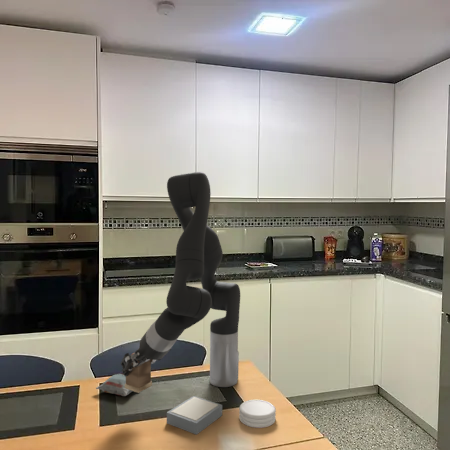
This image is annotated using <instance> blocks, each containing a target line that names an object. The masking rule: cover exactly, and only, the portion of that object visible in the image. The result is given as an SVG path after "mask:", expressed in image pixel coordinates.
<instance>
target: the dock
mask: <svg viewBox="0 0 450 450" xmlns="http://www.w3.org/2000/svg"><path fill="white" fill-rule="evenodd" d="M222 416H223V404H220V403H217V402H214V401H211V400H209V399H205V398H203V397H200V396H196V395H193V396H191V397H189V398H188V399H185V400H184V401H183V402H181V403H180V404H178V405H176V406H175V407H173V408H172V409H170V410H168V411H166V424H168V425H170V426H173V427H176V428H179V429H181V430H184V431H186V432H188V433H191V434H194V435H199V433H201V432H202V431H203V430H204V429H206V428H208V427H209V426H210V425H211V424H213V423H214V422H216V421H217V420H218V419H219V418H220V417H222Z"/></svg>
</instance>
